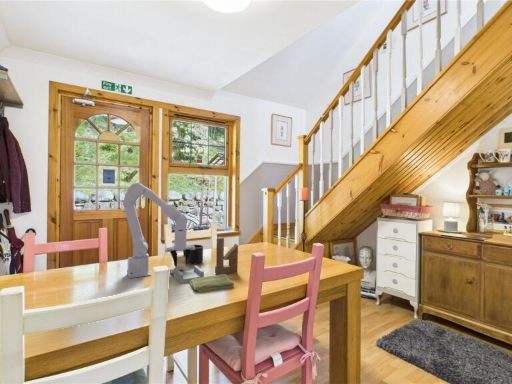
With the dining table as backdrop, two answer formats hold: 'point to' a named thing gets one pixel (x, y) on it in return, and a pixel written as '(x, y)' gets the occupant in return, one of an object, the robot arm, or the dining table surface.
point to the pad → (179, 270)
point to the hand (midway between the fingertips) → (180, 265)
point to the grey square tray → (188, 274)
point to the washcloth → (211, 283)
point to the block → (180, 262)
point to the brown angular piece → (226, 258)
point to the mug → (196, 255)
